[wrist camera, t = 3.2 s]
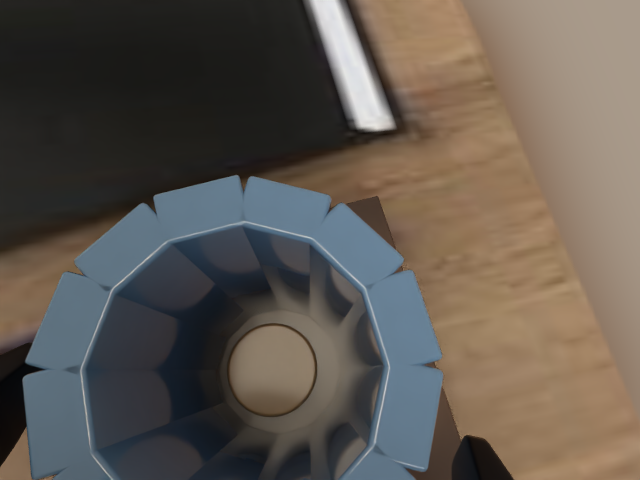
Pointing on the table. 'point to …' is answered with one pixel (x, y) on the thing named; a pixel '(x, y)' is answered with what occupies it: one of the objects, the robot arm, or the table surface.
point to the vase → (212, 337)
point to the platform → (332, 370)
